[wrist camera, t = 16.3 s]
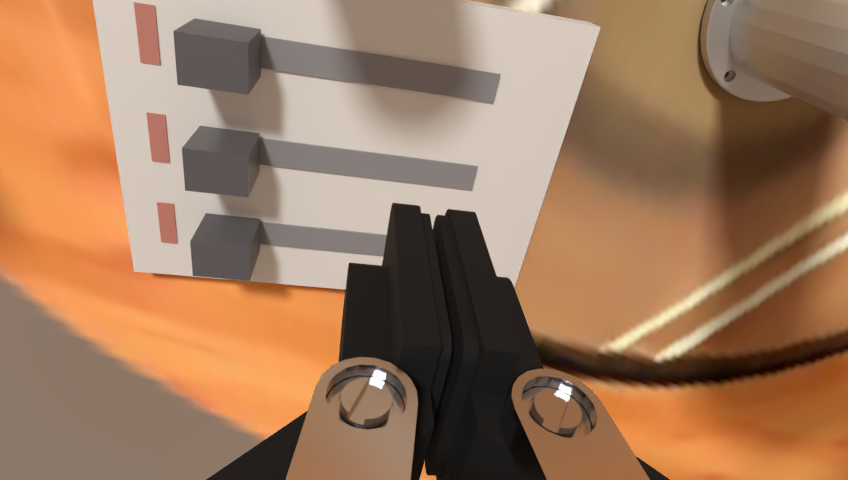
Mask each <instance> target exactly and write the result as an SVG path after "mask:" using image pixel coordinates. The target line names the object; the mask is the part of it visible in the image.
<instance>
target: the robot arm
mask: <svg viewBox="0 0 848 480" xmlns="http://www.w3.org/2000/svg"><path fill="white" fill-rule="evenodd" d="M700 41H701V54H702V57H703V61H704V64H705V67H706V69H707V71H708V73H709V74H710V76H711V78H712V79H713V80H714V81H715V82H716V83H717V84H718V85H719V86H720V87H721V88H722V89H724V90H725V91H727V92H729V93H730V94H732V95H734V96H737V97H739V98H741V99H744V100H748V101H754V102H774V101H778V100H782V99H787V98H790V97H795V98H797V99H799V100H802V101H804V102H806V103H808V104H811V105H813V106H815V107H817V108H820V109H822V110H824V111H826V112H828V113H831V114H833V115H835V116H837V117H840V118H842V119H844V120H846V121H848V0H708V2H707V5H706V9H705V12H704V16H703V19H702V27H701V35H700ZM424 460H425V467H426V473H427V475H436V478H437V480H669V479H668V478H667V477H665V476H664V475H662V474H661V473H659V472H658V471H656V470H655V469H654V468H652V467H651V466H649V465H648V464H646V463H645V462H643V461H642V460H641V459H639V458H638V457H636V456H635V455H634V453H633V452H632V450H631V449H630V447H629V445H628V444H627V442H626V441H625V439H624V437H623V436H622V434H621V433H620V431H619V429H618V428H617V426H616V425H615V423H614V421H613V420H612V418H611V417H610V415H609V413H608V412H607V410H606V409H605V407H604V405H603V404H602V402H601V401H600V400H599V398H598V397H597V396H596V395H595V393H594V392H593V391H592V390H591V389H590V388H588V387H587V386H586V385H585V384H583V383H582V382H581V381H579V380H578V379H576V378H574V377H572V376H570V375H568V374H566V373H563V372H559V371H556V370H552V369H544V368H543V365H542V363H541V360H540V357H539V354H538V352H537V349H536V346H535V344H534V341H533V338H532V335H531V333H530V330H529V327H528V324H527V322H526V319H525V316H524V314H523V311H522V308H521V305H520V303H519V300H518V297H517V294H516V292H515V289H514V286H513V284H512V282H511V280H510V279H509V278H507V277H497V276H496V273H495V270H494V267H493V264H492V261H491V258H490V255H489V252H488V249H487V246H486V242H485V239H484V236H483V233H482V230H481V227H480V224H479V221H478V218H477V215H476V213H475V212H470V211H462V210H453V209H448V210H447V211H446V213H445V216H444V215H437V216H436V218H435V221H434V226H433V229H432V224H431V218H430V214H426V213H421V208H420V206H418V205H409V204H400V203H392V206H391V211H390V217H389V224H388V230H387V236H386V243H385V249H384V255H383V262H382V266H380V265H370V264H359V263H349V265H348V273H347V281H346V290H345V299H344V308H343V318H342V329H341V340H340V353H339V363H337V364H335V365H332V366H331V367H330V368H329V369H328V370H327V371H326V372H324V373H323V374H322V376H321V378H320V379H319V381H318V383H317V385H316V387H315V390H314V393H313V397H312V400H311V403H310V406H309V409H308V411H307V412H305V413H304V414H302V415H301V416H299V417H298V418H296V419H295V420H293V421H292V422H290V423H289V424H288V425H286V426H285V427H283V428H282V429H280V430H279V431H277V432H276V433H274V434H273V435H271V436H270V437H268V438H267V439H265V440H264V441H263V442H261V443H260V444H258V445H257V446H255V447H254V448H252V449H251V450H249V451H248V452H246V453H245V454H243V455H242V456H241V457H239V458H238V459H236V460H235V461H233V462H232V463H230V464H229V465H227V466H226V467H224V468H223V469H221V470H220V471H218V472H217V473H216V474H214V475H213V476H211V477H210V478H208V479H207V480H419V478H420V475H421V471H422V468H423V464H424Z"/></svg>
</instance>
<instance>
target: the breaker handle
mask: <svg viewBox="0 0 848 480" xmlns="http://www.w3.org/2000/svg"><path fill="white" fill-rule="evenodd" d="M182 157H183V170H184V182H185V191H193V192H202V193H211V194H220V195H229V196H238V197H249V195H250V193H251V190H252V188H253V186H254V184H255V181H256V179H257V177H258V174H259V172H260V133H253V132H245V131H237V130H230V129H222V128H214V127H207V126H199V127H198V129H197V130H196V131H195V132H194V134H193V135H192V136H191V137H190V139H189V140H188V141H187V142H186V144H185V145H184V146H183V147H182Z"/></svg>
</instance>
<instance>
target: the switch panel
mask: <svg viewBox="0 0 848 480" xmlns="http://www.w3.org/2000/svg"><path fill="white" fill-rule="evenodd" d="M93 6H94V12H95V19H96V26H97V32H98V39H99V45H100V52H101V58H102V65H103V71H104V78H105V84H106V91H107V97H108V104H109V110H110V117H111V123H112V130H113V137H114V143H115V150H116V156H117V163H118V169H119V176H120V182H121V189H122V195H123V202H124V208H125V215H126V221H127V228H128V234H129V241H130V248H131V254H132V261H133V267H134V271H135V272H147V273H158V274H170V275H182V276H193V277H205V278H217V279H228V280H240V281H252V282H263V283H275V284H287V285H298V286H310V287H322V288H333V289H345V290H346V281H347V273H348V265H349V263H359V264H370V265H380V266H382V262H383V255H384V249H385V243H386V236H387V230H388V224H389V217H390V211H391V206H392V203H400V204H409V205H418V206H420V208H421V213H426V214H430V218H431V224H432V229H433V226H434V221H435V218H436V216H437V215H444V216H445V213H446V211H447V210H448V209H453V210H462V211H470V212H475V213H476V215H477V218H478V221H479V224H480V227H481V230H482V233H483V236H484V239H485V242H486V246H487V249H488V252H489V255H490V258H491V261H492V264H493V267H494V270H495V273H496V276H497V277H507V278H509V279H510V280H511V282H512V284H513V286H514V287H515V284H516V281H517V278H518V275H519V272H520V269H521V266H522V263H523V260H524V257H525V254H526V251H527V248H528V245H529V242H530V239H531V236H532V233H533V230H534V227H535V224H536V221H537V218H538V215H539V212H540V209H541V206H542V203H543V200H544V197H545V194H546V191H547V188H548V185H549V181H550V178H551V175H552V172H553V169H554V166H555V163H556V160H557V157H558V154H559V151H560V148H561V145H562V142H563V139H564V136H565V133H566V130H567V127H568V124H569V121H570V118H571V115H572V112H573V109H574V106H575V103H576V100H577V97H578V94H579V91H580V88H581V85H582V82H583V79H584V76H585V73H586V70H587V67H588V64H589V61H590V58H591V55H592V52H593V49H594V46H595V43H596V40H597V37H598V34H599V31H600V27H598V26H597V25H595V24H593V23H591V22H587V21H581V20H575V19H570V18H564V17H559V16H553V15H548V14H542V13H537V12H531V11H526V10H520V9H515V8H509V7H504V6H498V5H492V4H487V3H481V2H476V1H470V0H93ZM199 126H207V127H214V128H222V129H230V130H237V131H245V132H253V133H260V172H259V174H258V177H257V179H256V181H255V184H254V186H253V188H252V190H251V193H250V195H249V197H238V196H229V195H220V194H211V193H202V192H193V191H185V182H184V170H183V157H182V147H183V146H184V145H185V144H186V142H187V141H188V140H189V139H190V137H191V136H192V135H193V134H194V132H195V131H196V130H197V129H198V127H199Z"/></svg>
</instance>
